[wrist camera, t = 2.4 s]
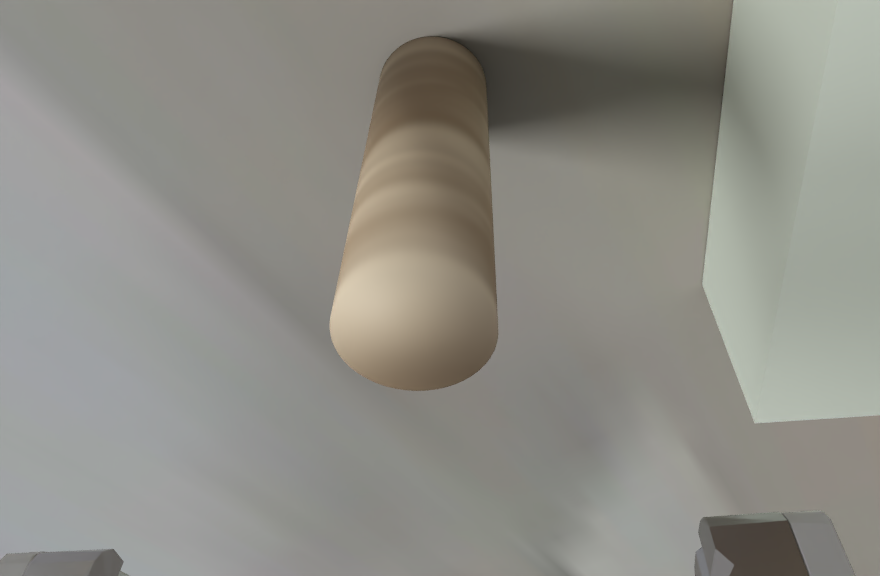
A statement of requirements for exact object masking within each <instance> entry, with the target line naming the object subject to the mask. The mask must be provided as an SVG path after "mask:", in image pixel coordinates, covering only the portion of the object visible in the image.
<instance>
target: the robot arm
mask: <svg viewBox="0 0 880 576" xmlns="http://www.w3.org/2000/svg"><path fill="white" fill-rule="evenodd" d="M698 533H699V537H700V541H701V545H702V547H701V548H700V549H699V550H697V551H696V554H695V566H694V568H695V576H856V575H855V573H854V571H853V569H852V566H851V564H850V562H849V559H848V557H847V555H846V553H845V550H844V548H843V546H842V544H841V541H840V539H839V537H838V535H837V532H836V530H835V528H834V525H833V523H832V521H831V519H830V518H829V517H828V516H827V515H826V514H825V513H824V512H822V511H819V510H816V511H801V512H786V513H779V512H771V513H757V514H743V515H728V516H714V517H703V518H702V519H701V521H700V525H699V531H698ZM123 562H124V561H123V560H122V559H121V558H120V556H119V555H118V554H117V553H116V552H115V550H114V549H101V550H81V551H60V552H29V553H13V554H6V555H5V556H4V557H3V558H2V559H1V560H0V576H129V575H127V574H125V573H124V572H122V571H120V570H121V567H122V564H123Z"/></svg>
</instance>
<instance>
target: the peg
mask: <svg viewBox="0 0 880 576" xmlns="http://www.w3.org/2000/svg"><path fill="white" fill-rule="evenodd" d="M330 334H331V338H332V342H333V344H334V347H335V349H336V350H337V352H338V354H339V355H340V356H341V358H342V359H343V360H344V361H345V362H346V363H347V364H348V365H349V366H350V367H351V368H352V369H353V370H355V371H356V372H357V373H359V374H360V375H362V376H364V377H365V378H367V379H369V380H371V381H373V382H375V383H378V384H381V385H384V386H387V387H391V388H395V389H402V390H412V391H424V390H434V389H440V388H444V387H448V386H451V385H454V384H457V383H459V382H461V381H464V380H465V379H467V378H469V377H471V376H472V375H474V374H475V373H476V372H478V371H479V370H480V369H481V368H482V367H483V366H484V365H485V364H486V363H487V361H488V360H489V359H490V357H491V355H492V354H493V352H494V350H495V347H496V344H497V339H498V316H497V295H496V275H495V254H494V234H493V213H492V193H491V172H490V151H489V131H488V110H487V90H486V79H485V75H484V72H483V69H482V67H481V65H480V63H479V62H478V60H477V59H476V57H475V56H474V55H473V54H472V53H471V52H470V51H469V50H468V49H467V48H465V47H464V46H462V45H461V44H459V43H457V42H455V41H453V40H450V39H447V38H442V37H422V38H417V39H414V40H411V41H409V42H407V43H405V44H403V45H402V46H400V47H399V48H397V49H396V50H395V51H394V52H393V53H392V54H391V55H390V57H389V58H388V59H387V61H386V62H385V64H384V67H383V69H382V72H381V75H380V80H379V85H378V89H377V94H376V99H375V104H374V109H373V114H372V118H371V123H370V128H369V133H368V138H367V143H366V148H365V152H364V157H363V162H362V167H361V172H360V177H359V181H358V186H357V191H356V196H355V201H354V206H353V211H352V215H351V220H350V225H349V230H348V235H347V240H346V245H345V249H344V254H343V259H342V264H341V269H340V274H339V278H338V283H337V288H336V293H335V298H334V303H333V308H332V312H331V318H330Z"/></svg>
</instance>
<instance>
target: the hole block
mask: <svg viewBox="0 0 880 576" xmlns="http://www.w3.org/2000/svg"><path fill="white" fill-rule="evenodd" d="M702 285H703V288H704V291H705V293H706V296H707V298H708V301H709V304H710V306H711V309H712V312H713V314H714V317H715V320H716V322H717V325H718V327H719V330H720V333H721V335H722V338H723V341H724V343H725V346H726V349H727V351H728V354H729V357H730V359H731V362H732V364H733V367H734V370H735V372H736V375H737V378H738V380H739V383H740V386H741V388H742V391H743V393H744V396H745V399H746V401H747V404H748V407H749V409H750V412H751V415H752V417H753V420H754V422H755V423H768V422H783V421H798V420H814V419H829V418H845V417H860V416H875V415H880V0H734V1H733V10H732V19H731V28H730V37H729V46H728V55H727V64H726V74H725V83H724V92H723V101H722V110H721V119H720V128H719V137H718V146H717V155H716V164H715V173H714V182H713V191H712V201H711V210H710V219H709V228H708V237H707V246H706V255H705V264H704V273H703V282H702Z"/></svg>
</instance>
